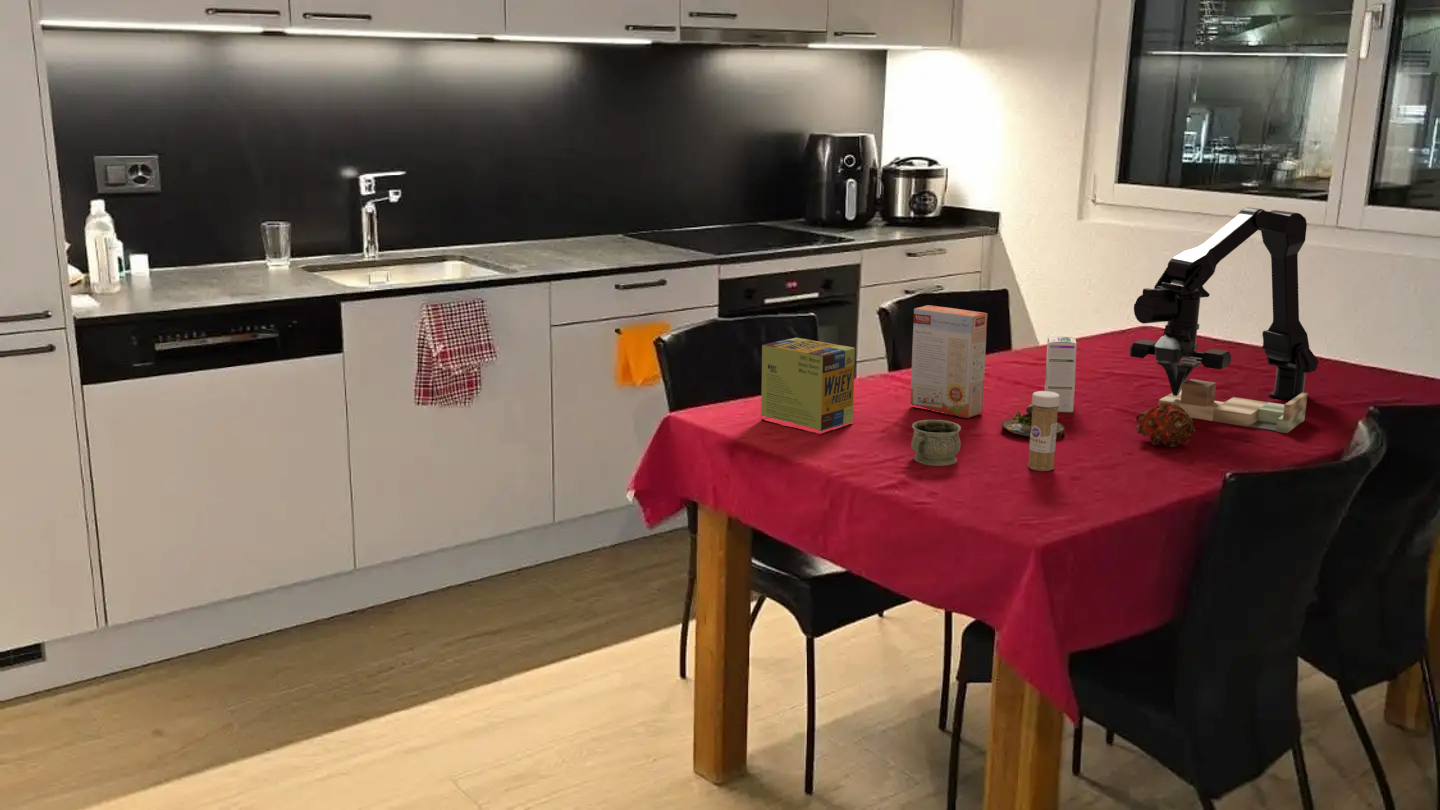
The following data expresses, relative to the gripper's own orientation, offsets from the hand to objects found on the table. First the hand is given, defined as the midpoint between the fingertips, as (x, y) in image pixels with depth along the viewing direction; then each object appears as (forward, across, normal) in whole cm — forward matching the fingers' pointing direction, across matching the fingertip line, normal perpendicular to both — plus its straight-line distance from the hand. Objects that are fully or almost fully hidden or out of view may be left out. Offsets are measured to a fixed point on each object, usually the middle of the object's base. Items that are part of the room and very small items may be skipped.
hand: (1175, 395), depth 260 cm
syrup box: (+4, -19, -13) cm, 24 cm away
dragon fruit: (+3, +7, -25) cm, 26 cm away
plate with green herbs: (+4, -15, -33) cm, 37 cm away
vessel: (+4, -21, -60) cm, 64 cm away
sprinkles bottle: (+3, -4, -53) cm, 53 cm away
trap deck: (+3, +10, +3) cm, 11 cm away
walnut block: (+1, +4, 0) cm, 5 cm away
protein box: (+4, -53, -54) cm, 76 cm away
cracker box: (+4, -36, -29) cm, 47 cm away
